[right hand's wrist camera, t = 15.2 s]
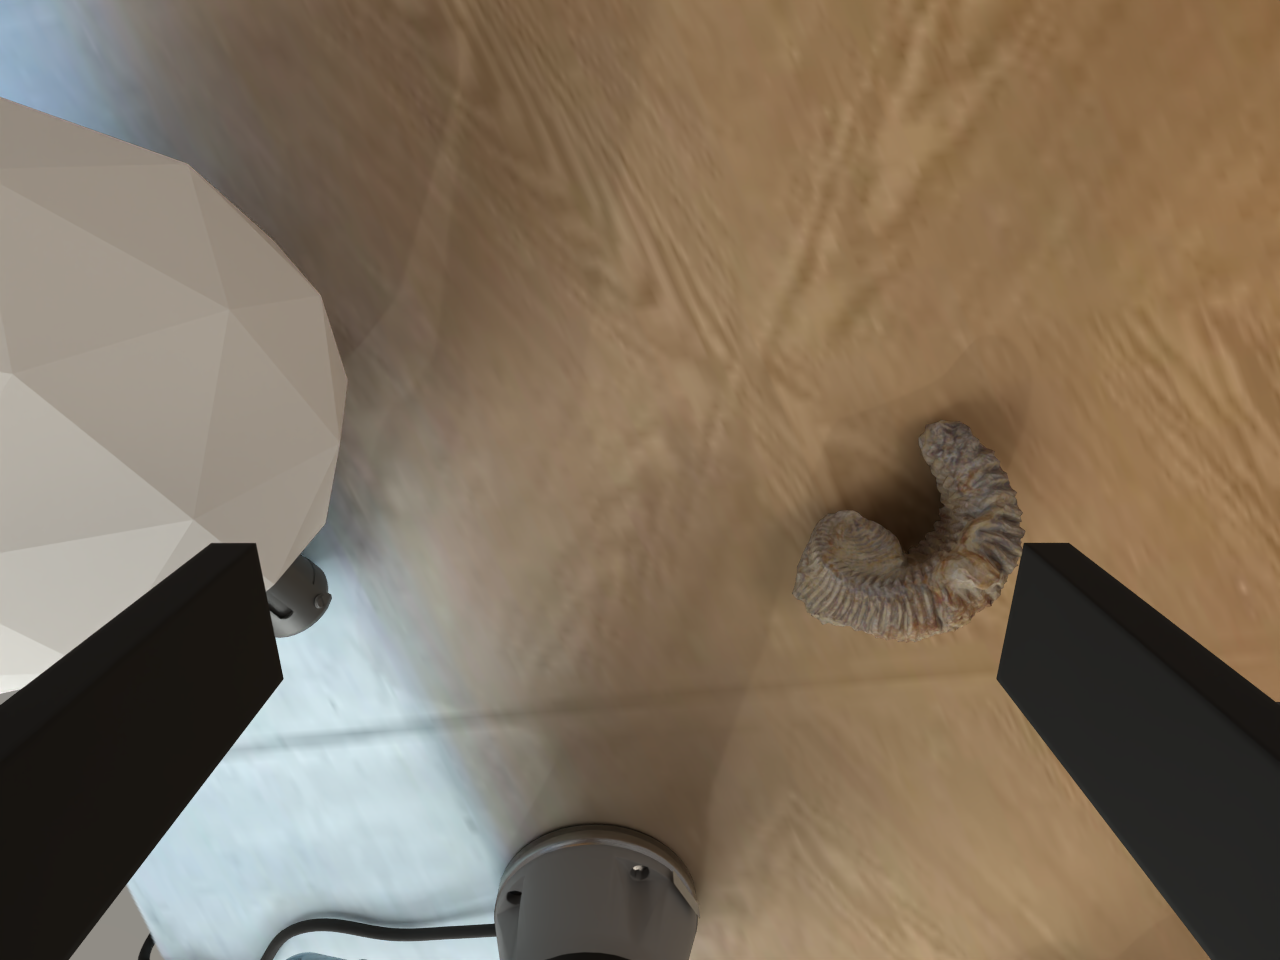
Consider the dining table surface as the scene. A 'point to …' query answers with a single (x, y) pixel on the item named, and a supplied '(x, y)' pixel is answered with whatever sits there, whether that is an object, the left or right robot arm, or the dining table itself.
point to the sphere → (147, 390)
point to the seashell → (919, 551)
